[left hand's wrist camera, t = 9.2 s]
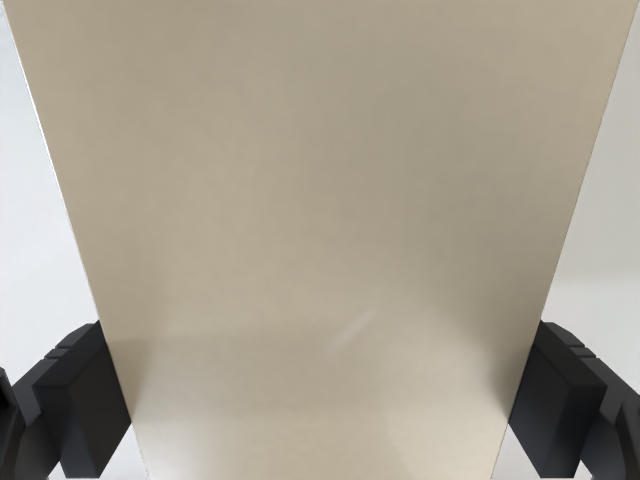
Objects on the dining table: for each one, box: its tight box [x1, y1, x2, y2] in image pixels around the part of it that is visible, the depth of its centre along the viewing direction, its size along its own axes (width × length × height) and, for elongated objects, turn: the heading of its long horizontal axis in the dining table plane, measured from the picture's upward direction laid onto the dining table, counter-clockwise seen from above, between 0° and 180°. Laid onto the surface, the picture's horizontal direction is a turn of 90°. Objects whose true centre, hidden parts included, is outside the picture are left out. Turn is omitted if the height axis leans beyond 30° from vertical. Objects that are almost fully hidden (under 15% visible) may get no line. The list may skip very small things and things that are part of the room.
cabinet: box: [0, 0, 639, 480], centre depth 11 cm, size 20×10×11 cm, turn 0°
